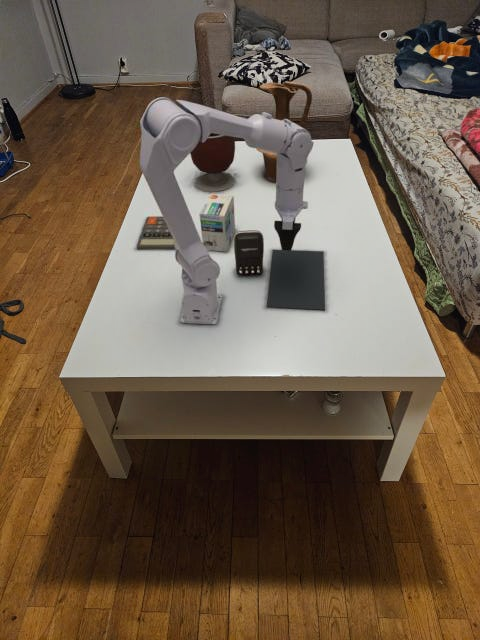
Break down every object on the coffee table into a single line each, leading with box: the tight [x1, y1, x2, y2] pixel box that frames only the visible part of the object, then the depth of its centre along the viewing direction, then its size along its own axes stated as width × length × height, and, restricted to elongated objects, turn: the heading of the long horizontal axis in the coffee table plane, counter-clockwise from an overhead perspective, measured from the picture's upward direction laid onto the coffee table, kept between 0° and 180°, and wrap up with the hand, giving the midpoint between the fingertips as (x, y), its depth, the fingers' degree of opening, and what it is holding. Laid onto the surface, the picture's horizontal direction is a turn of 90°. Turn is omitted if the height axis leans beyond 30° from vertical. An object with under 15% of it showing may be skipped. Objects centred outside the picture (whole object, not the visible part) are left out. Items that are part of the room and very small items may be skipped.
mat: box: [266, 249, 326, 312], centre depth 110 cm, size 22×13×1 cm, turn 174°
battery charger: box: [233, 229, 265, 277], centre depth 108 cm, size 7×4×11 cm, turn 91°
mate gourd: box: [189, 133, 236, 193], centre depth 139 cm, size 16×14×20 cm
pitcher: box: [256, 80, 313, 183], centre depth 138 cm, size 18×17×28 cm
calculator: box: [136, 216, 175, 250], centre depth 125 cm, size 12×1×15 cm
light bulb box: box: [199, 193, 236, 252], centre depth 119 cm, size 11×7×11 cm, turn 168°
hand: (287, 239), depth 103 cm, fingers open, 7 cm apart
